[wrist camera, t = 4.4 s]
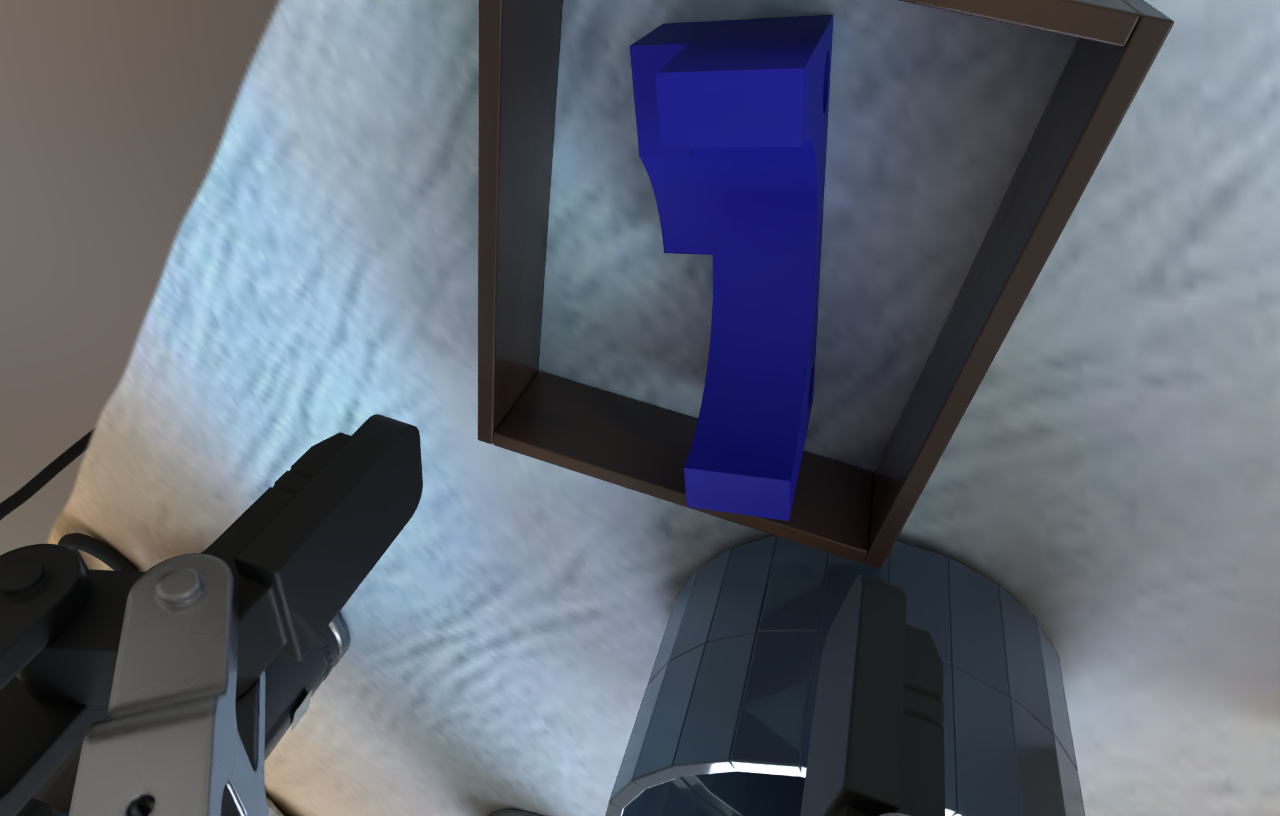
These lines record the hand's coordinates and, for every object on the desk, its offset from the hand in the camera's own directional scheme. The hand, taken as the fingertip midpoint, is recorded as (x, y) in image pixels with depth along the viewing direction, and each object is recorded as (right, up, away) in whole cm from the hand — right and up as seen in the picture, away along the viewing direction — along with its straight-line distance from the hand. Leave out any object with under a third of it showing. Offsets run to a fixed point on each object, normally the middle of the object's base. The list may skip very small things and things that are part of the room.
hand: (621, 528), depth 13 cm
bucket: (+10, -9, +20) cm, 24 cm away
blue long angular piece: (+4, +8, +10) cm, 13 cm away
